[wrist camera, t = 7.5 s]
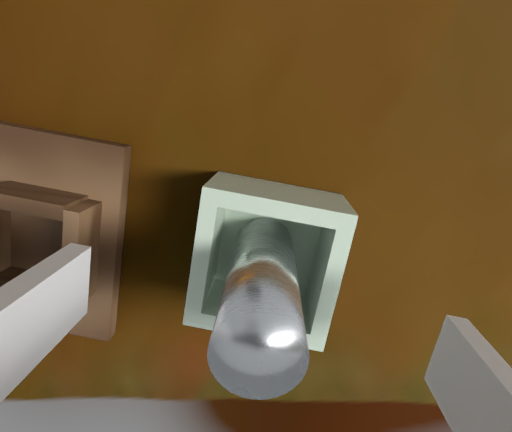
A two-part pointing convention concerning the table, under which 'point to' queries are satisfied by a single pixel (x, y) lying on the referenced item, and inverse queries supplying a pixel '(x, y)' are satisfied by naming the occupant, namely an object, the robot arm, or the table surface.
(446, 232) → the table surface
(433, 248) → the table surface
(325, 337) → the tray
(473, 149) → the table surface
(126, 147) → the mount
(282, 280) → the pin
